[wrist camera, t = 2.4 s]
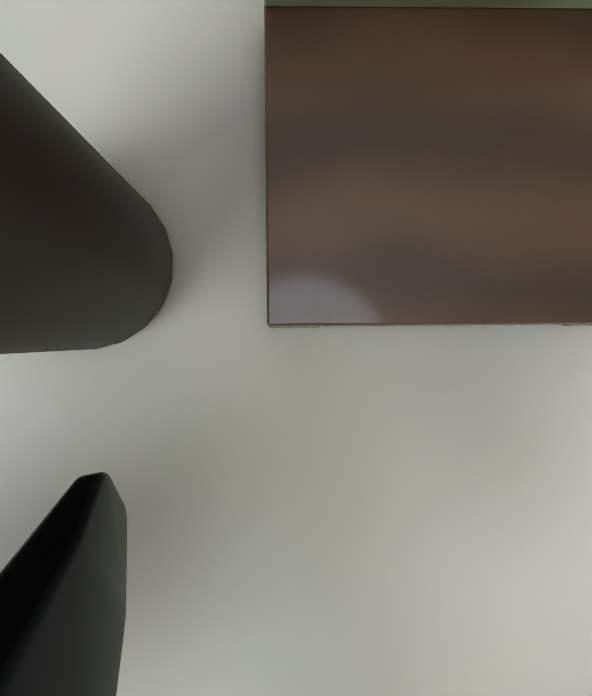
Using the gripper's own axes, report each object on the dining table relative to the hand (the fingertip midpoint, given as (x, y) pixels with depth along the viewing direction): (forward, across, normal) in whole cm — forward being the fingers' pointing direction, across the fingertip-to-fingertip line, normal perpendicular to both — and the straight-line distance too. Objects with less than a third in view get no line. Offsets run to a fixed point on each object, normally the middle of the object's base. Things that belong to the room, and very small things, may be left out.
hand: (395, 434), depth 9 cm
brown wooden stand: (+15, -6, +2) cm, 17 cm away
